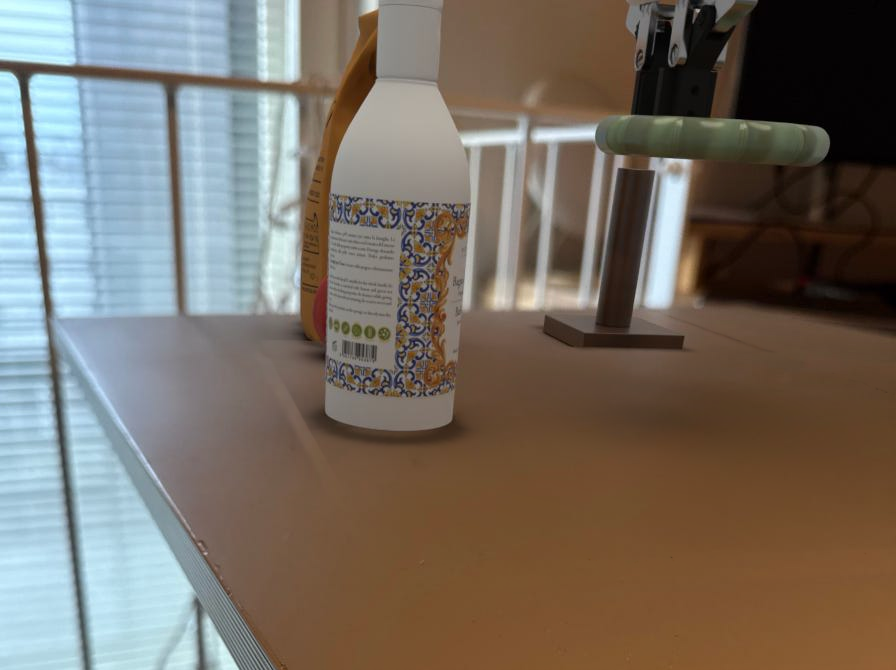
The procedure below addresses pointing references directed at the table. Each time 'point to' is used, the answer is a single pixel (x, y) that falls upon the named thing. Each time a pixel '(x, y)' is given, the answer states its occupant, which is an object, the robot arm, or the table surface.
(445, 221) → the bath foam
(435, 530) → the table surface
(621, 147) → the ring
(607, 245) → the post
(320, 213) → the coffee package
